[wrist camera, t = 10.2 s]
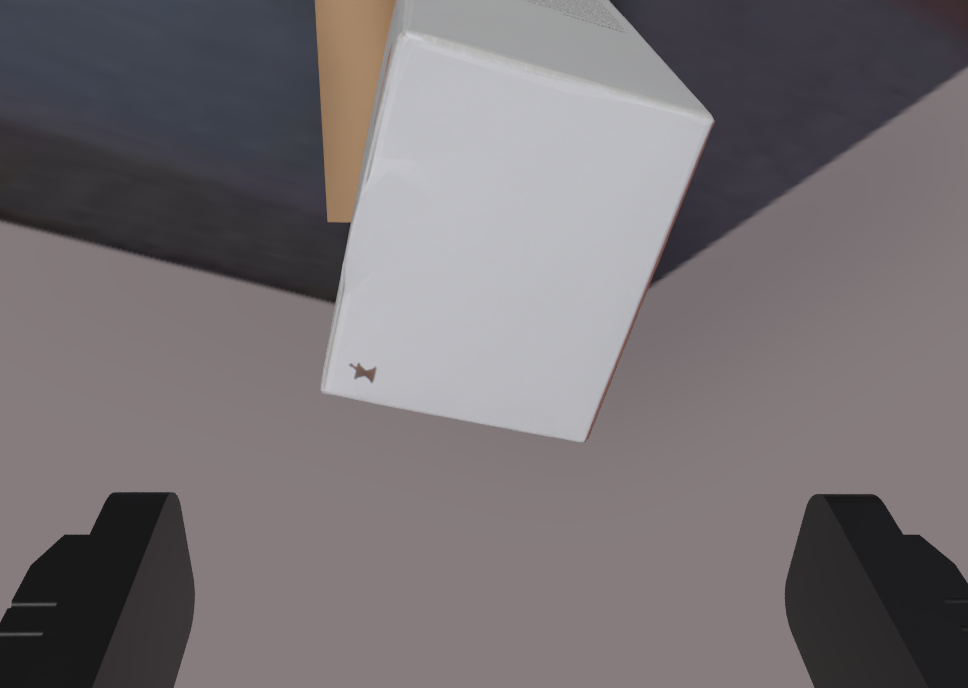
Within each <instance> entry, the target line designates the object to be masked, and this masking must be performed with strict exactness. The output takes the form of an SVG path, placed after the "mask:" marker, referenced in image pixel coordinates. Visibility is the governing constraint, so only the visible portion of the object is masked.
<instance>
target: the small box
mask: <svg viewBox="0 0 968 688" xmlns="http://www.w3.org/2000/svg"><path fill="white" fill-rule="evenodd" d="M714 123H715V121H714V119H713V117H712V116H711V114H710V113H709V112H708V111H707V109H706V108H705V107H704V106H703V105H702V104H701V103H700V101H699V100H698V99H697V98H696V97H695V96H694V95H693V94H692V93H691V92H690V90H689V89H688V88H687V87H686V86H685V85H684V84H683V83H682V81H681V80H680V79H679V78H678V77H677V76H676V75H675V73H674V72H673V71H672V70H671V69H670V68H669V67H668V66H667V65H666V64H665V63H664V62H663V60H662V59H661V58H660V57H659V56H658V55H657V54H656V53H655V51H654V50H653V49H652V48H651V47H650V46H649V45H648V44H647V42H646V41H645V40H644V39H643V38H642V37H641V36H640V34H639V33H638V32H637V31H636V30H635V29H634V27H633V26H632V25H631V24H630V23H629V22H628V21H627V20H626V19H625V17H623V16H622V14H621V13H620V12H619V11H618V10H617V9H616V8H615V7H614V6H613V5H612V3H611V2H610V1H609V0H396V1H395V5H394V10H393V14H392V19H391V23H390V28H389V32H388V37H387V42H386V46H385V51H384V56H383V61H382V65H381V70H380V75H379V80H378V84H377V89H376V94H375V99H374V103H373V108H372V113H371V118H370V123H369V128H368V133H367V139H366V144H365V149H364V154H363V160H362V166H361V172H360V178H359V183H358V189H357V194H356V199H355V205H354V210H353V215H352V220H351V226H350V231H349V236H348V241H347V247H346V252H345V257H344V262H343V267H342V273H341V278H340V283H339V288H338V293H337V299H336V304H335V309H334V315H333V320H332V325H331V330H330V336H329V341H328V347H327V351H326V357H325V363H324V368H323V374H322V380H321V387H320V389H321V392H322V393H323V394H327V395H334V396H341V397H346V398H351V399H356V400H361V401H365V402H370V403H375V404H380V405H385V406H390V407H394V408H399V409H405V410H410V411H415V412H421V413H425V414H431V415H436V416H441V417H446V418H451V419H456V420H462V421H467V422H473V423H478V424H483V425H488V426H494V427H500V428H505V429H510V430H515V431H520V432H526V433H531V434H536V435H542V436H548V437H554V438H560V439H564V440H569V441H574V442H579V443H584V442H586V440H587V439H588V438H589V435H590V433H591V430H592V427H593V425H594V423H595V420H596V418H597V415H598V413H599V410H600V408H601V405H602V403H603V400H604V397H605V395H606V392H607V390H608V387H609V385H610V382H611V380H612V377H613V375H614V372H615V370H616V368H617V365H618V362H619V360H620V357H621V355H622V352H623V350H624V347H625V345H626V343H627V340H628V338H629V335H630V333H631V330H632V327H633V325H634V322H635V320H636V317H637V314H638V312H639V309H640V307H641V305H642V302H643V300H644V297H645V295H646V293H647V290H648V288H649V285H650V282H651V280H652V277H653V274H654V272H655V270H656V268H657V265H658V263H659V261H660V258H661V255H662V253H663V250H664V248H665V245H666V243H667V240H668V237H669V234H670V232H671V229H672V227H673V225H674V222H675V220H676V217H677V215H678V212H679V210H680V207H681V205H682V202H683V199H684V197H685V194H686V192H687V189H688V187H689V184H690V182H691V179H692V177H693V174H694V172H695V169H696V167H697V164H698V162H699V159H700V157H701V154H702V152H703V149H704V147H705V144H706V142H707V139H708V136H709V134H710V131H711V129H712V127H713V125H714Z"/></svg>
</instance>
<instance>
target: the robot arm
mask: <svg viewBox="0 0 968 688" xmlns="http://www.w3.org/2000/svg"><path fill="white" fill-rule="evenodd" d="M194 601H195V589H194V579H193V573H192V567H191V562H190V556H189V550H188V545H187V540H186V533H185V528H184V522H183V517H182V511H181V505H180V501H179V498H178V496H177V495H176V494H175V493H173V492H170V493H169V492H124V493H123V492H115V493H112V494H110V495H109V497H108V498H107V500H106V501H105V503H104V505H103V508H102V510H101V512H100V514H99V516H98V518H97V520H96V522H95V525H94V526H93V529H92V531H91V533H90V535H64V536H63V537H61V538H60V539H59V540H58V541H57V542H56V543H55V544H54V545H53V546H52V547H50V548H49V549H48V550H47V551H46V552H45V553H44V554H43V555H42V556H41V557H40V558H38V559H37V560H36V561H35V562H34V563H33V564H32V565H31V566H30V568H29V570H28V571H27V573H26V575H25V577H24V579H23V581H22V583H21V584H20V587H19V588H18V590H17V592H16V594H15V596H14V598H13V599H12V607H11V608H9V609H7V611H6V613H5V614H4V616H3V618H2V620H1V622H0V688H174V684H175V681H176V678H177V674H178V671H179V668H180V664H181V661H182V658H183V654H184V651H185V648H186V644H187V641H188V638H189V634H190V631H191V626H192V621H193V614H194ZM785 606H786V614H787V618H788V623H789V626H790V629H791V632H792V635H793V637H794V639H795V642H796V644H797V646H798V649H799V651H800V654H801V656H802V659H803V661H804V663H805V666H806V668H807V671H808V673H809V675H810V678H811V680H812V683H813V685H814V687H815V688H968V583H967V582H966V580H965V579H964V577H963V576H962V574H961V573H960V571H959V570H958V568H957V567H956V565H955V564H954V563H953V562H952V561H950V560H949V559H948V558H947V557H946V556H944V555H943V554H942V553H941V552H939V551H938V550H937V549H936V548H935V547H934V546H932V545H931V544H930V543H929V542H927V541H926V540H925V539H924V538H923V537H921V536H920V535H903V534H902V532H901V530H900V529H899V527H898V526H897V524H896V522H895V521H894V519H893V517H892V516H891V514H890V513H889V511H888V509H887V508H886V506H885V505H884V503H883V502H882V500H881V499H880V498H879V497H877V496H876V495H873V494H816V495H814V496H812V498H810V500H809V502H808V504H807V507H806V510H805V514H804V517H803V521H802V524H801V528H800V532H799V536H798V539H797V543H796V546H795V550H794V554H793V558H792V561H791V565H790V568H789V573H788V576H787V580H786V586H785Z"/></svg>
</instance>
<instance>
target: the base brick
mask: <svg viewBox="0 0 968 688" xmlns="http://www.w3.org/2000/svg"><path fill="white" fill-rule="evenodd" d="M395 1H396V0H315V10H316V27H317V45H318V62H319V79H320V96H321V114H322V131H323V148H324V166H325V183H326V200H327V218H328V222H351V220H352V215H353V210H354V205H355V199H356V194H357V189H358V183H359V178H360V172H361V166H362V160H363V154H364V149H365V144H366V139H367V133H368V128H369V123H370V118H371V113H372V108H373V103H374V99H375V94H376V89H377V84H378V80H379V75H380V70H381V65H382V61H383V56H384V51H385V46H386V42H387V37H388V32H389V28H390V23H391V19H392V14H393V10H394V5H395Z"/></svg>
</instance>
